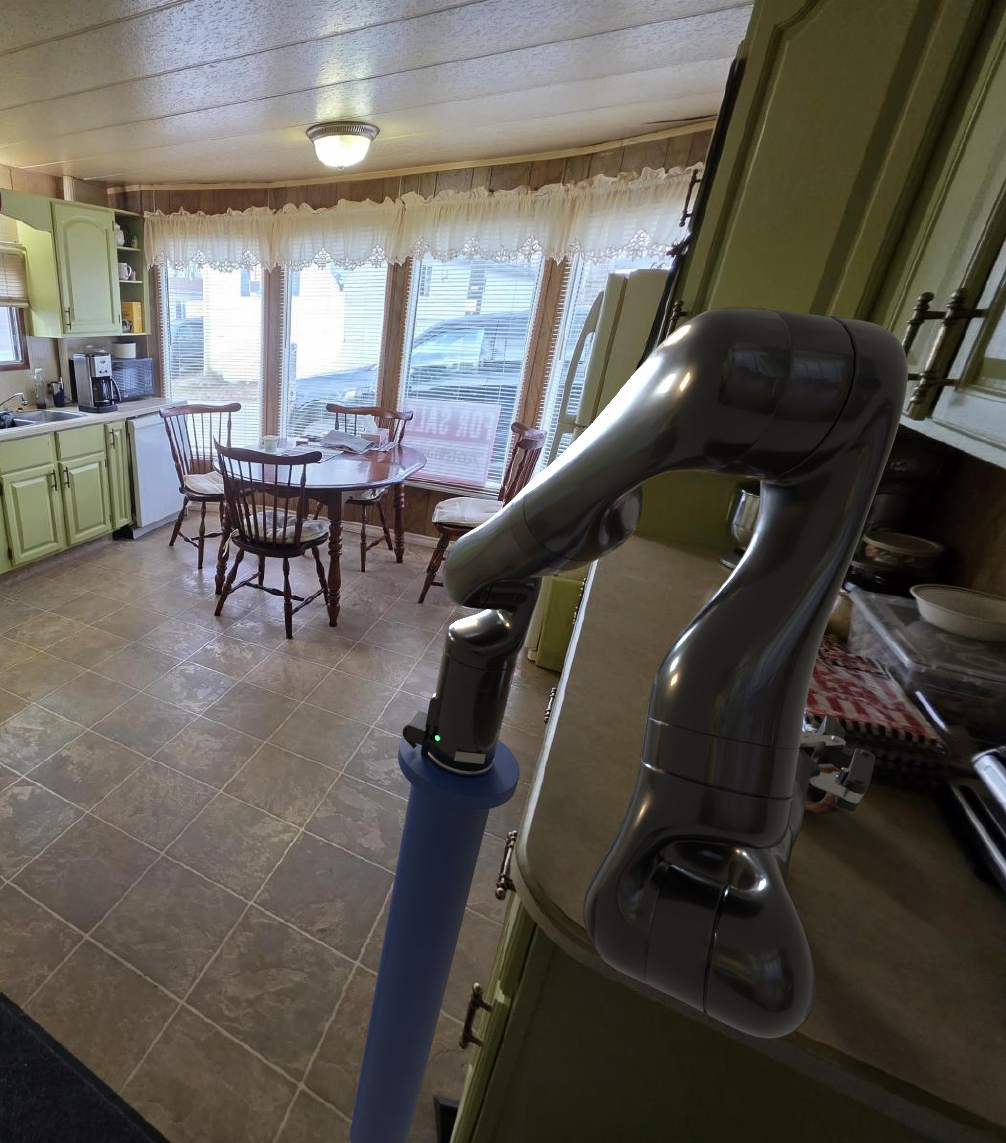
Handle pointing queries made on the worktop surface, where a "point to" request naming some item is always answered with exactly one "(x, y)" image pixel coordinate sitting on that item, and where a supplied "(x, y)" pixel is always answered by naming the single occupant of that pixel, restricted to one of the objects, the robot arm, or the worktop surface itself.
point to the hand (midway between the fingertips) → (765, 704)
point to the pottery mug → (821, 798)
